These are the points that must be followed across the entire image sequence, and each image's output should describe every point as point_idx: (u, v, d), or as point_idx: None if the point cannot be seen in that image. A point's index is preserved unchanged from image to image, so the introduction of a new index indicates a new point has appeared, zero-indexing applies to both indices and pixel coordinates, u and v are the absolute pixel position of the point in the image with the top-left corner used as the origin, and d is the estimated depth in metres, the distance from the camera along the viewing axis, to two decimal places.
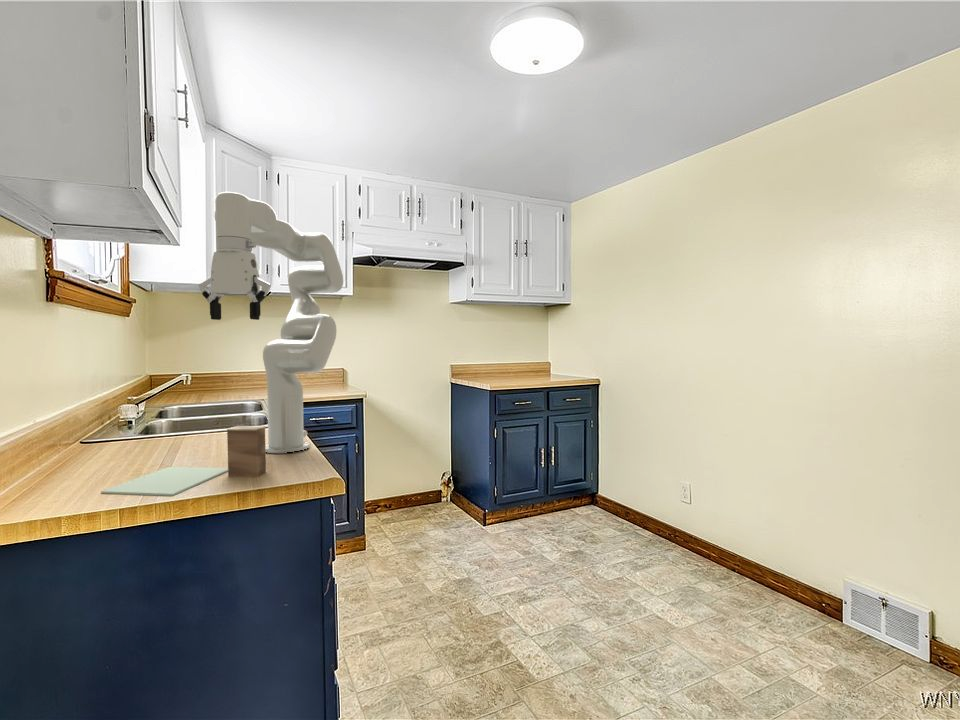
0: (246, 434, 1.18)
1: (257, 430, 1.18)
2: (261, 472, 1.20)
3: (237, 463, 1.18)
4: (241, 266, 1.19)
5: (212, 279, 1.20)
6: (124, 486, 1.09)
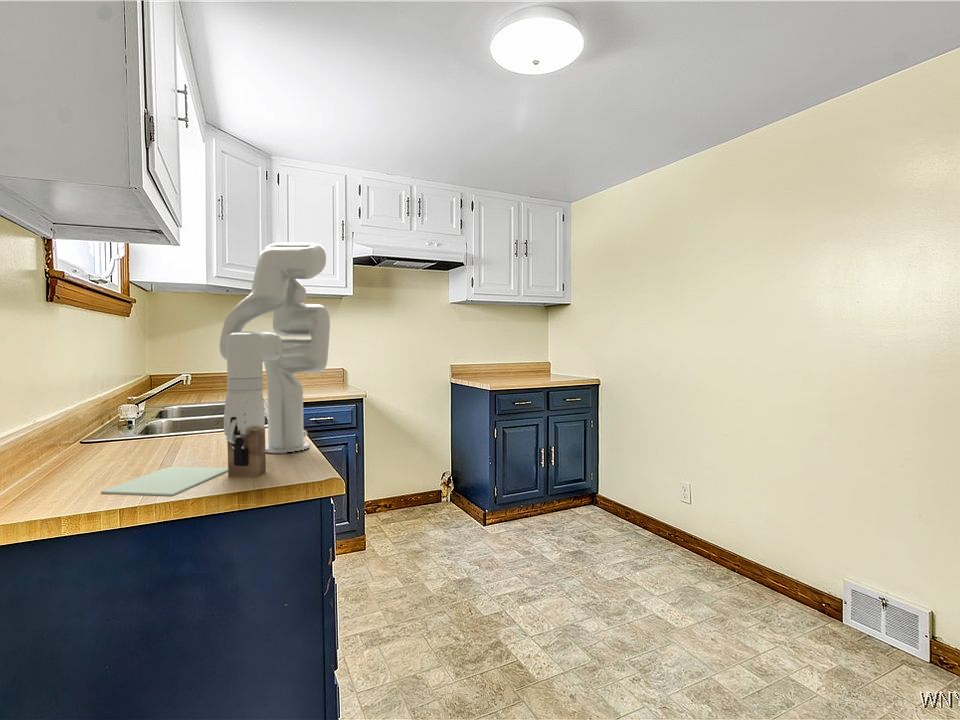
0: None
1: (257, 430, 1.18)
2: (261, 472, 1.20)
3: None
4: (262, 404, 1.22)
5: (244, 421, 1.15)
6: (124, 486, 1.09)
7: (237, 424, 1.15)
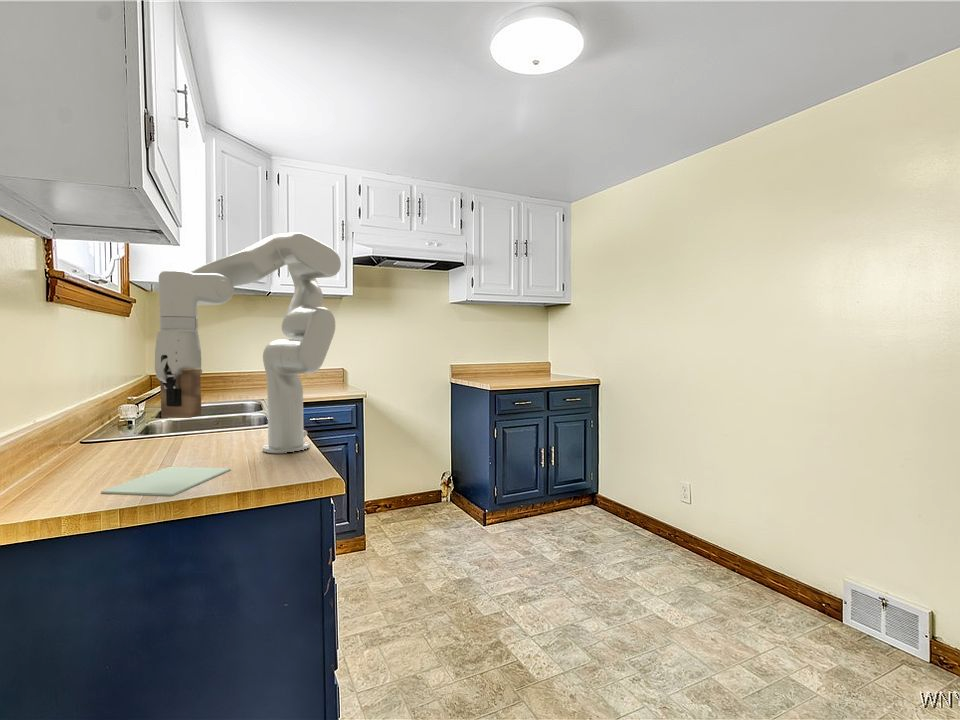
0: None
1: (190, 370, 1.16)
2: (195, 414, 1.18)
3: None
4: (197, 346, 1.20)
5: (175, 360, 1.13)
6: (124, 486, 1.09)
7: (168, 362, 1.12)
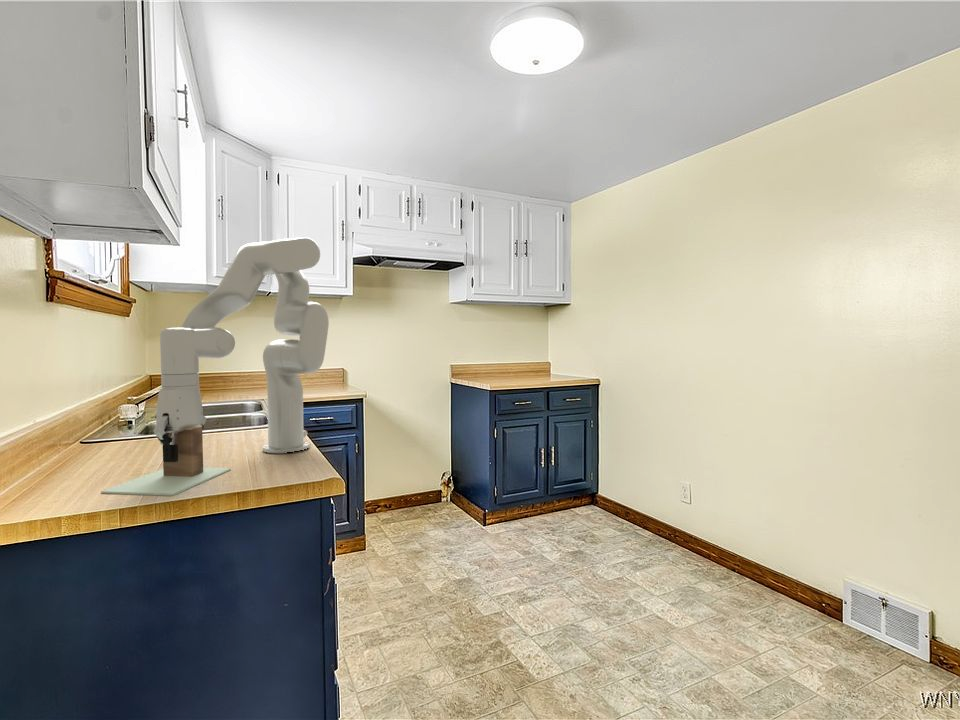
0: (181, 433, 1.16)
1: (192, 429, 1.17)
2: (197, 472, 1.18)
3: (172, 463, 1.17)
4: (199, 401, 1.21)
5: (177, 418, 1.14)
6: (124, 486, 1.09)
7: (169, 420, 1.13)
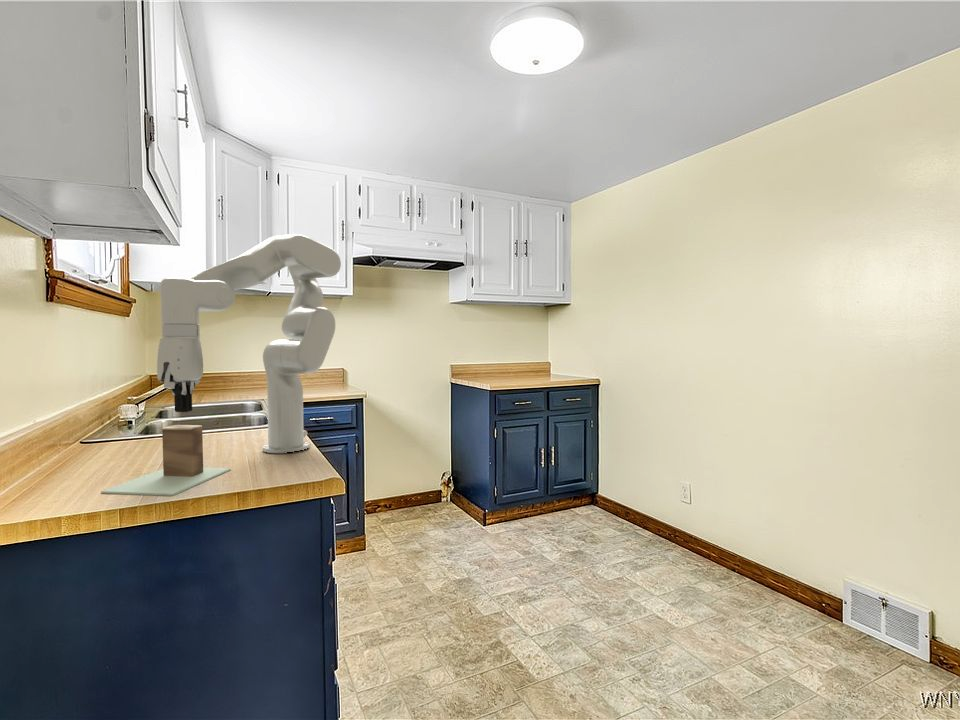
0: (181, 433, 1.16)
1: (192, 429, 1.17)
2: (197, 472, 1.18)
3: (172, 463, 1.17)
4: (199, 353, 1.21)
5: (177, 367, 1.14)
6: (124, 486, 1.09)
7: (170, 369, 1.13)
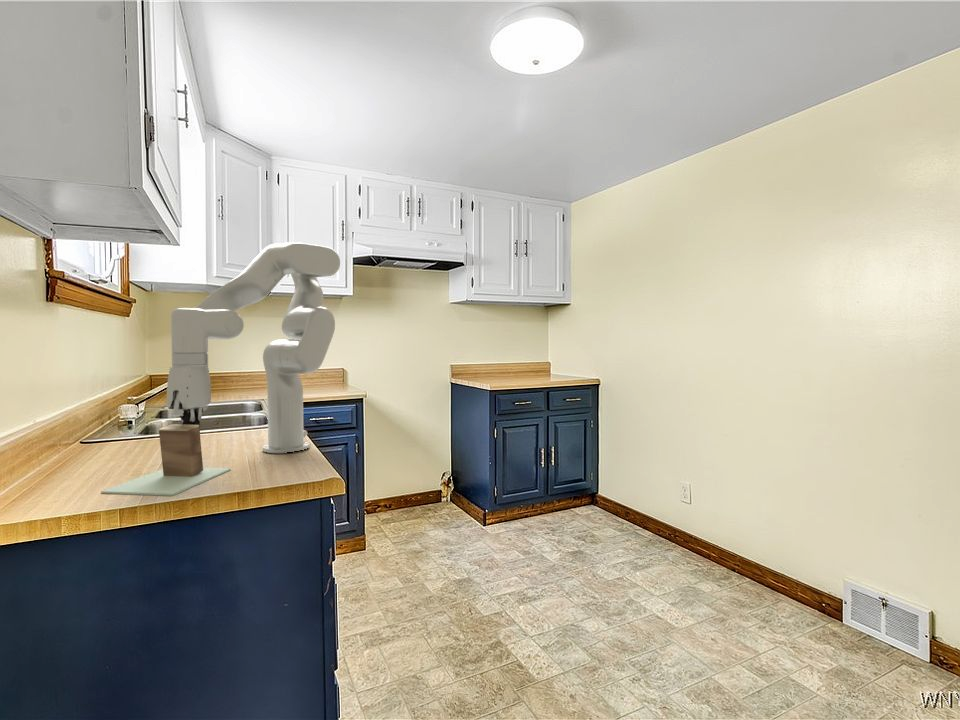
0: (178, 434, 1.15)
1: (189, 430, 1.16)
2: (197, 471, 1.18)
3: (171, 463, 1.16)
4: (207, 380, 1.24)
5: (186, 395, 1.17)
6: (124, 486, 1.09)
7: (179, 397, 1.16)
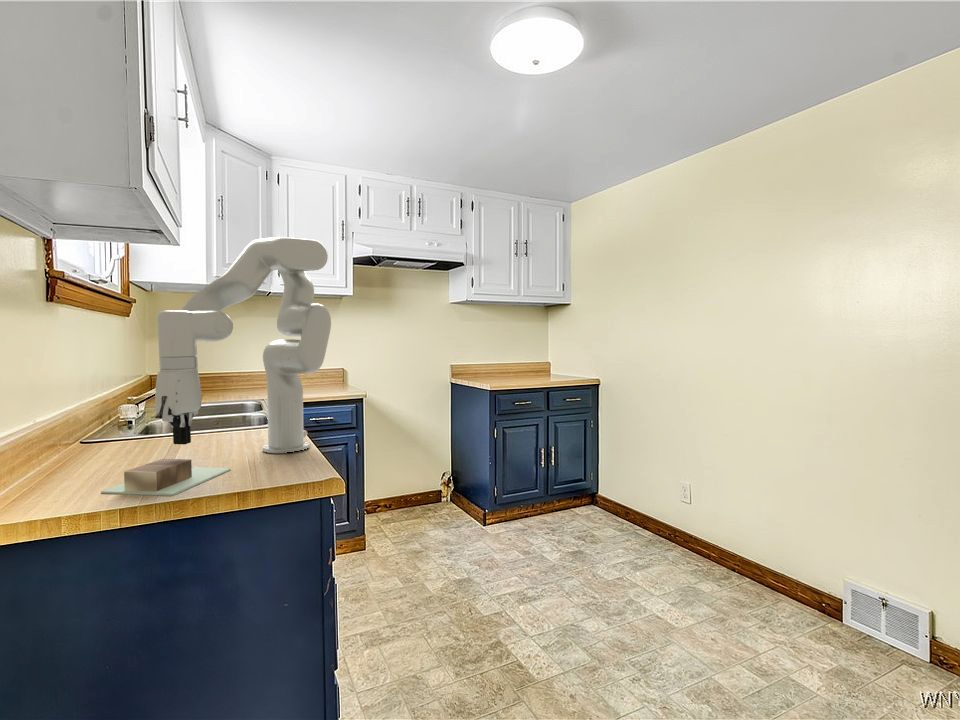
0: None
1: (157, 487, 1.06)
2: (190, 468, 1.16)
3: None
4: (197, 384, 1.20)
5: (176, 400, 1.13)
6: (124, 486, 1.09)
7: (168, 403, 1.12)
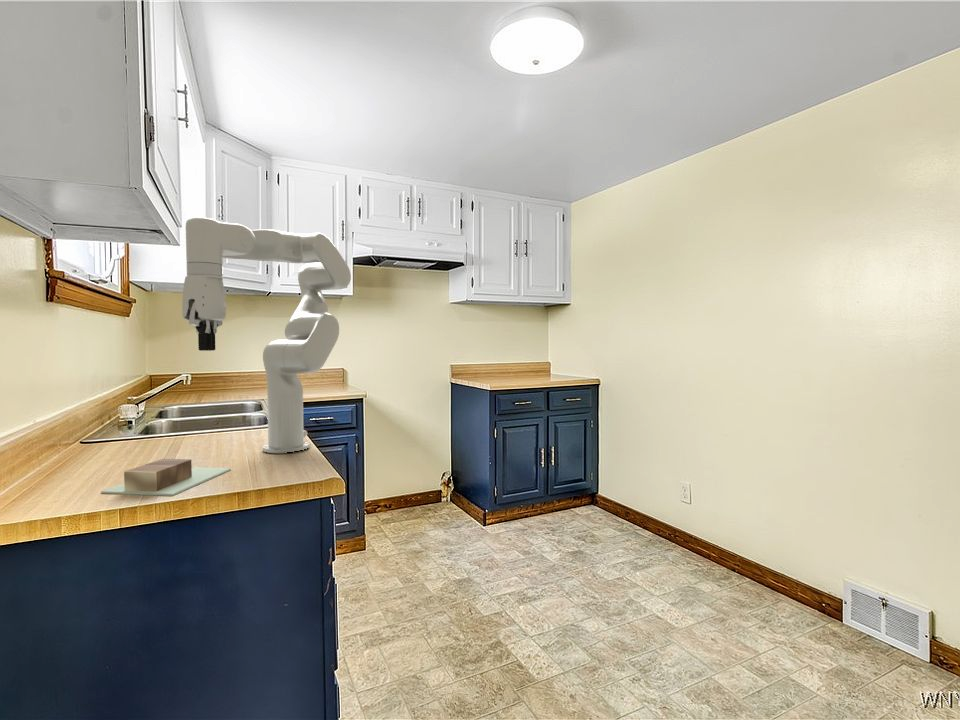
0: None
1: (157, 487, 1.06)
2: (190, 468, 1.16)
3: None
4: (222, 294, 1.23)
5: (202, 304, 1.16)
6: (124, 486, 1.09)
7: (195, 306, 1.15)
